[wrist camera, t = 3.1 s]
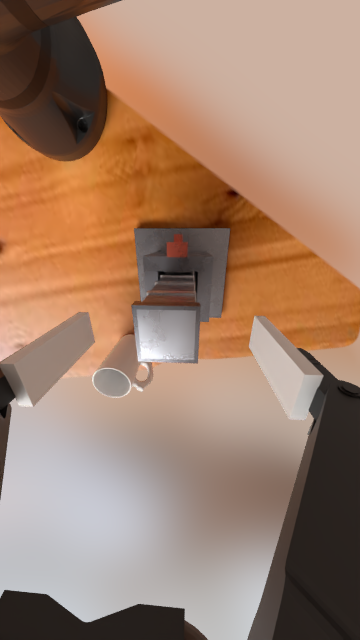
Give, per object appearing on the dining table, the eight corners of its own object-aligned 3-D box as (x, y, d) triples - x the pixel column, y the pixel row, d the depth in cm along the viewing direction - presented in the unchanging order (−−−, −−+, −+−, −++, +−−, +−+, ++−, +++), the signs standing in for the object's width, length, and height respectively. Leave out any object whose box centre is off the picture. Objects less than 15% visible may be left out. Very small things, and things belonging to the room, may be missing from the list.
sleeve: (136, 229, 31) (105, 222, 20) (228, 228, 31) (250, 222, 19) (144, 313, 38) (124, 344, 27) (219, 314, 37) (232, 347, 26)
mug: (114, 350, 42) (87, 388, 31) (123, 328, 40) (98, 361, 29) (152, 367, 44) (139, 409, 33) (164, 347, 41) (154, 385, 30)
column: (168, 264, 32) (131, 305, 12) (194, 264, 32) (200, 306, 12) (169, 289, 34) (138, 361, 14) (193, 289, 34) (197, 363, 14)
